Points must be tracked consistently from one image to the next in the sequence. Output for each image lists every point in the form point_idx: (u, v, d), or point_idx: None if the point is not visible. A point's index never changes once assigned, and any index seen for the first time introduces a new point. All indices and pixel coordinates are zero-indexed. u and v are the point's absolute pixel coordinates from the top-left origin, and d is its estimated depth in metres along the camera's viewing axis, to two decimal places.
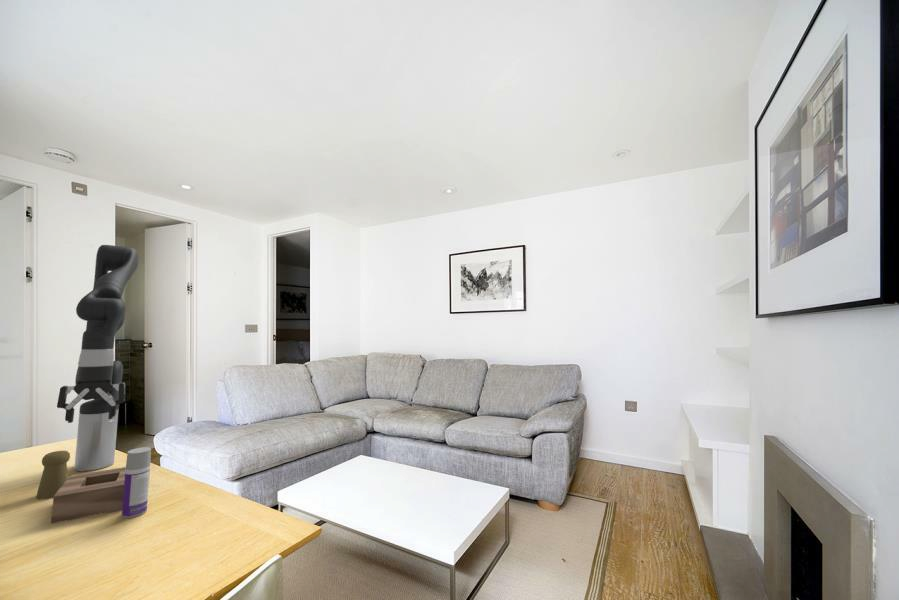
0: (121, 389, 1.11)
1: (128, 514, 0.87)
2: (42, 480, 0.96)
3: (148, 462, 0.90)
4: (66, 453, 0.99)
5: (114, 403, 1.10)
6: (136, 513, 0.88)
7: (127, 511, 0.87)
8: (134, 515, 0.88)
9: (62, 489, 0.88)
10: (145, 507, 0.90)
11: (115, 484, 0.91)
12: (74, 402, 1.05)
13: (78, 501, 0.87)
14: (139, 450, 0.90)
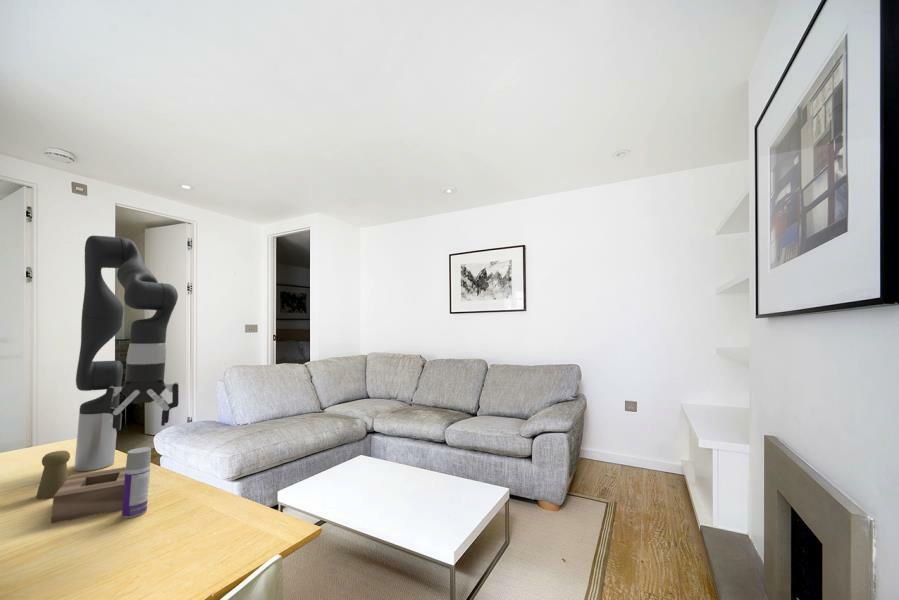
0: (175, 391, 0.94)
1: (128, 514, 0.87)
2: (42, 480, 0.96)
3: (148, 462, 0.90)
4: (66, 453, 0.99)
5: (167, 407, 0.93)
6: (136, 513, 0.88)
7: (127, 511, 0.87)
8: (134, 515, 0.88)
9: (62, 489, 0.88)
10: (145, 507, 0.90)
11: (115, 484, 0.91)
12: (122, 406, 0.88)
13: (78, 501, 0.87)
14: (139, 450, 0.90)
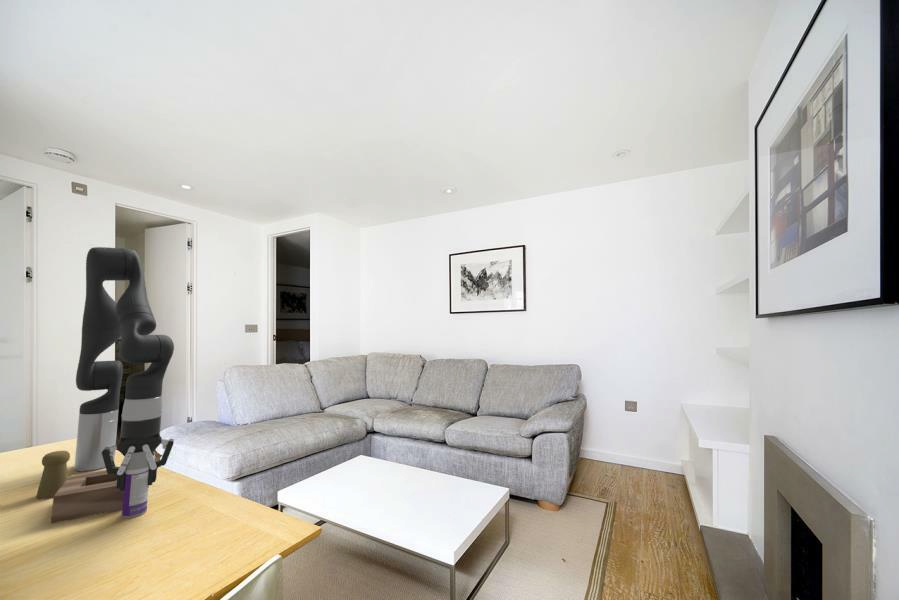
0: (168, 448, 0.93)
1: (128, 514, 0.87)
2: (42, 480, 0.96)
3: None
4: (66, 453, 0.99)
5: (155, 466, 0.91)
6: (136, 513, 0.88)
7: (127, 511, 0.87)
8: (134, 515, 0.88)
9: (62, 489, 0.88)
10: (145, 507, 0.90)
11: (115, 484, 0.91)
12: (124, 465, 0.88)
13: (78, 501, 0.87)
14: None
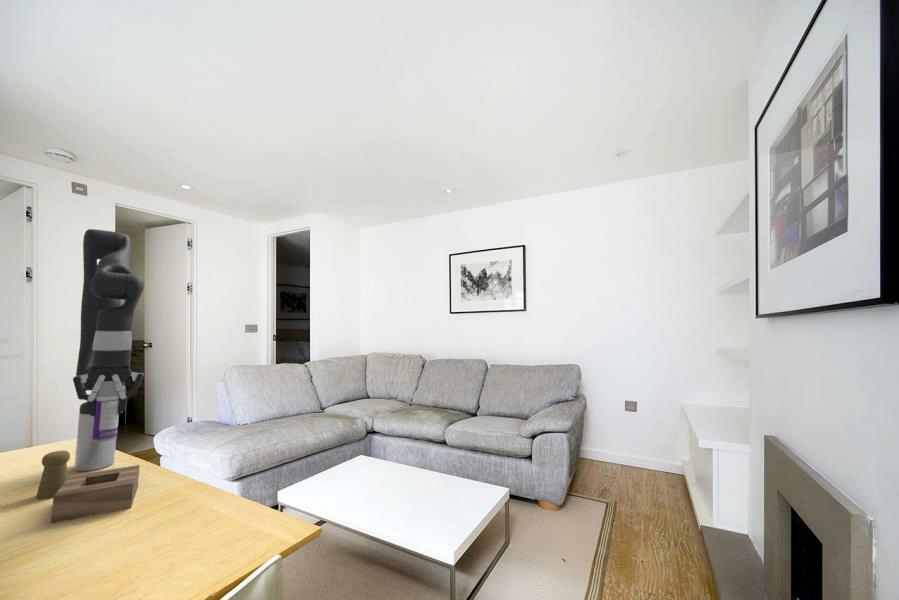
0: (138, 380, 0.98)
1: (98, 438, 0.93)
2: (42, 480, 0.96)
3: None
4: (66, 453, 0.99)
5: (124, 396, 0.97)
6: (106, 437, 0.94)
7: (97, 435, 0.93)
8: (104, 439, 0.93)
9: (62, 489, 0.88)
10: (115, 433, 0.96)
11: (115, 484, 0.91)
12: (94, 392, 0.93)
13: (78, 501, 0.87)
14: None
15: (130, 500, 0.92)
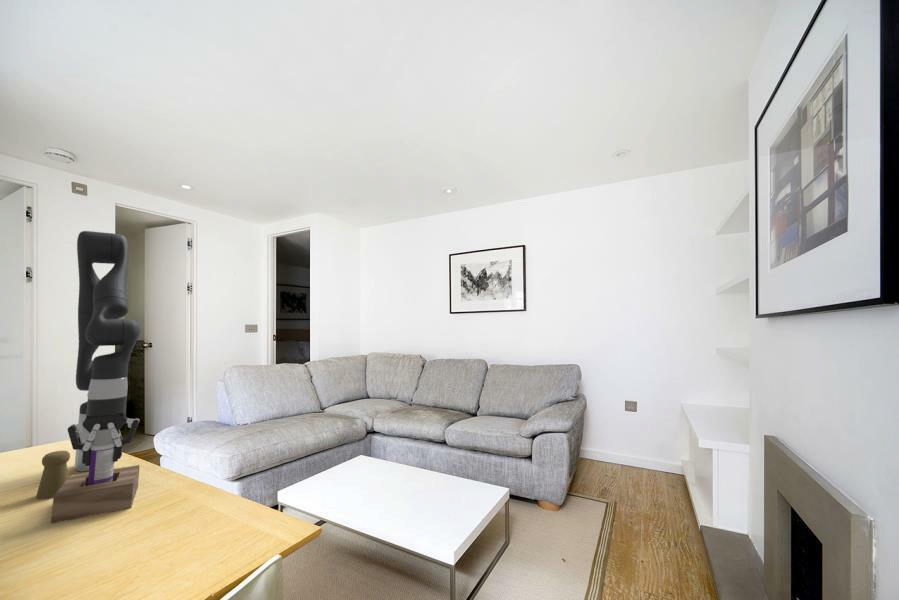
0: (133, 427, 0.97)
1: None
2: (42, 480, 0.96)
3: None
4: (66, 453, 0.99)
5: (120, 443, 0.96)
6: None
7: None
8: None
9: (62, 489, 0.88)
10: None
11: (115, 484, 0.91)
12: (89, 441, 0.92)
13: (78, 501, 0.87)
14: None
15: (130, 500, 0.92)
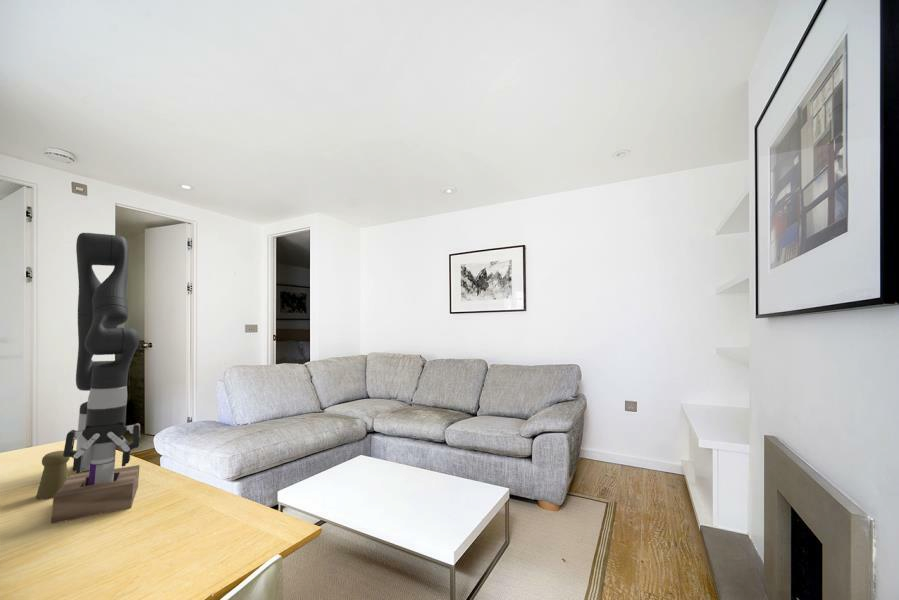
0: (136, 432, 0.98)
1: None
2: (42, 480, 0.96)
3: (113, 453, 0.95)
4: None
5: (128, 448, 0.97)
6: None
7: None
8: None
9: (62, 489, 0.88)
10: None
11: (115, 484, 0.91)
12: (83, 449, 0.92)
13: (78, 501, 0.87)
14: None
15: (130, 500, 0.92)
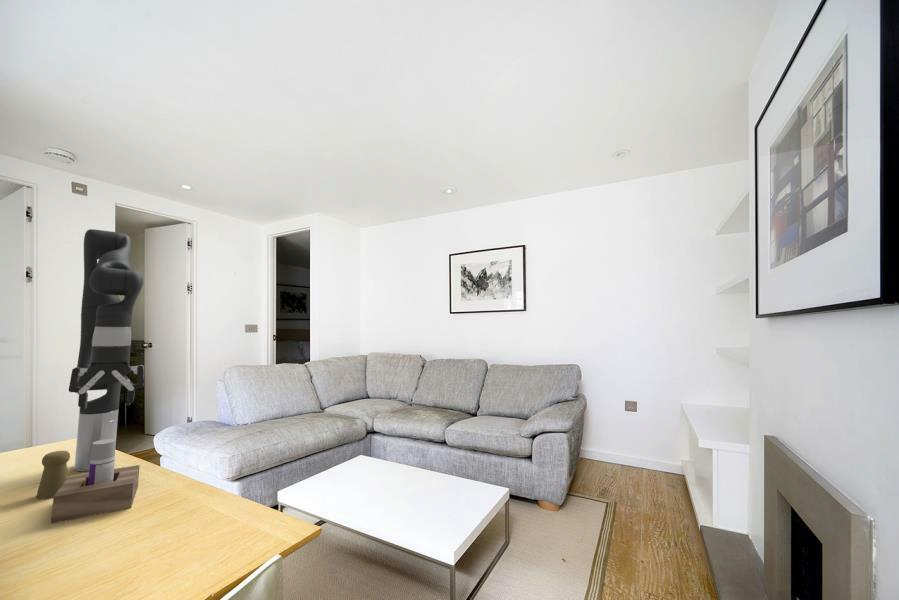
0: (140, 372, 0.99)
1: None
2: (42, 480, 0.96)
3: (112, 453, 0.95)
4: (66, 453, 0.99)
5: (132, 388, 0.98)
6: None
7: None
8: None
9: (62, 489, 0.88)
10: None
11: (115, 484, 0.91)
12: (88, 386, 0.93)
13: (78, 501, 0.87)
14: (104, 441, 0.95)
15: (130, 500, 0.92)
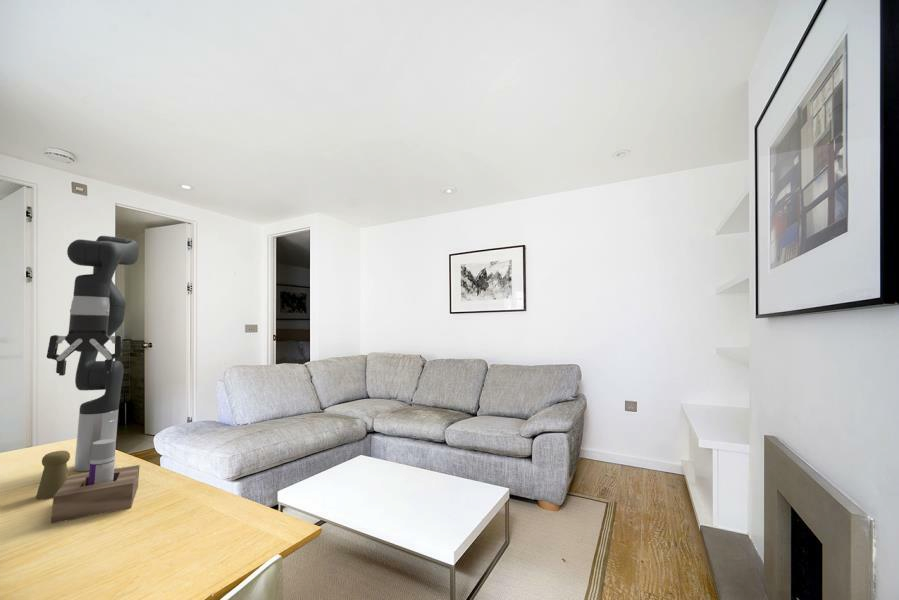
0: (118, 342, 1.02)
1: None
2: (42, 480, 0.96)
3: (112, 453, 0.95)
4: (66, 453, 0.99)
5: (110, 357, 1.01)
6: None
7: None
8: None
9: (62, 489, 0.88)
10: None
11: (115, 484, 0.91)
12: (66, 353, 0.96)
13: (78, 501, 0.87)
14: (104, 441, 0.95)
15: (130, 500, 0.92)
